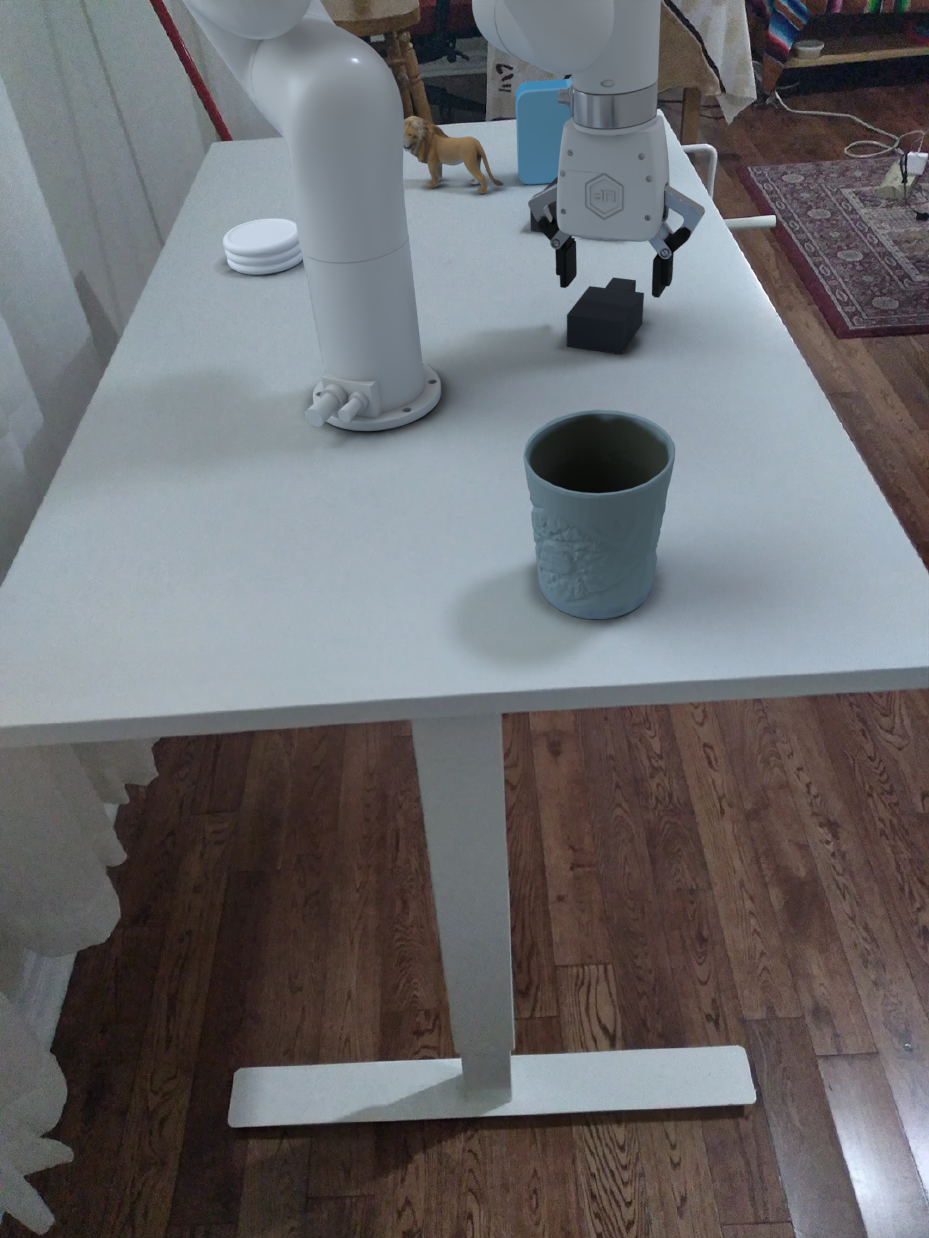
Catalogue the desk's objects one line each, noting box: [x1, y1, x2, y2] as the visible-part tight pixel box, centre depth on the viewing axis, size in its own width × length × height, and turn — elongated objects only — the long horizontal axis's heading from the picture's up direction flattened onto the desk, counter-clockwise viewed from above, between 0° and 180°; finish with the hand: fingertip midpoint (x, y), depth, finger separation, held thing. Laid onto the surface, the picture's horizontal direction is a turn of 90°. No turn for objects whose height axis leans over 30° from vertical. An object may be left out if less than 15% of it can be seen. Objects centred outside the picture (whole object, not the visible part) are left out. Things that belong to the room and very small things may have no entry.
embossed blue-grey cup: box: [523, 409, 676, 620], centre depth 69 cm, size 10×10×12 cm
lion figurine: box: [403, 115, 504, 195], centre depth 134 cm, size 15×5×9 cm, turn 70°
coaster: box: [222, 217, 303, 276], centre depth 121 cm, size 10×10×4 cm
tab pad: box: [566, 277, 645, 355], centre depth 101 cm, size 10×6×4 cm, turn 155°
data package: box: [515, 78, 572, 186], centre depth 133 cm, size 12×4×12 cm, turn 89°
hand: (613, 287), depth 98 cm, fingers open, 9 cm apart
